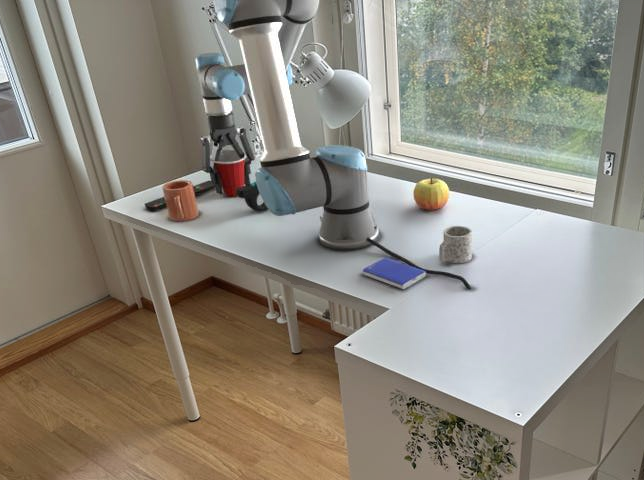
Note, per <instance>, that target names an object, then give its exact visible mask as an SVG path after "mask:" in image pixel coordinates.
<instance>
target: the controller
mask: <svg viewBox="0 0 644 480" xmlns="http://www.w3.org/2000/svg"><path fill="white" fill-rule="evenodd" d="M235 194H236V197H238V198H241V199H244V202H245V204H246V205H247V207H249V208H250V209H251V210H254V211H256V212H266V211H267V210H269V209H268V208H267V206H266V205H265V203H264V201H262V203H261V204H258V197H259V196H260V193H259V190H258V187H257V184H256V181H253V182H252V183H250V184H249V185H244V186H242V187H239V188H237V189H236V193H235Z"/></svg>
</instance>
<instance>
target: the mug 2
mask: <svg viewBox="0 0 644 480" xmlns="http://www.w3.org/2000/svg"><path fill="white" fill-rule="evenodd" d="M442 233H443V234H442V235H443V241H442V242H441V243H440V245H439V247H438V248H439V249H438V255H439V261H440V262H441V263H444V262H448V263H451V264H464V263H467V262H469V261H470V260H471V259H472V251H473V250H472V245H473V244H472V243H473V242H472V239H473V238H472V237H473V231H472V229H471V228H470V227H467V226H464V225H452V226H448V227H446V228H445V229H444V230H443V232H442Z"/></svg>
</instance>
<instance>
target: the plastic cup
mask: <svg viewBox="0 0 644 480" xmlns="http://www.w3.org/2000/svg"><path fill="white" fill-rule="evenodd" d="M243 152H244V158H240V157H239V156H238V154H237V153H236V151H235V150H234V149H231V148H229V149H222V150H221V152H220V156H219V161H214V160H212V159H211V155H212V152H210V161H212V162H214V163H215V164H216V165H217V170H216V172H218V173H219V176H220V182H221V187H222V192H223V195H224V197H227V198H235V197H237V196H236V194H235V193H236V189H237V188H239V187H242V186H245V185H244V164H245V158H246V156H247V155H246V153H245V151H243Z"/></svg>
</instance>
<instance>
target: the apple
mask: <svg viewBox="0 0 644 480" xmlns="http://www.w3.org/2000/svg"><path fill="white" fill-rule="evenodd" d="M449 199H450V188H449V187H448V185H447V183H446V182H445V181H444V180H441V179H438V178H432V177H431V178H427V179H426V178H425V179H422V180H420V181H418V182H416V184H415V186H414V189H413V200H414V202H415V204H416V205H417V206H418V207H419V208H421V209H424V210H426V211H435V210H439V209H441V208H443V207H444V206H446V204H447V203H448V201H449Z"/></svg>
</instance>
